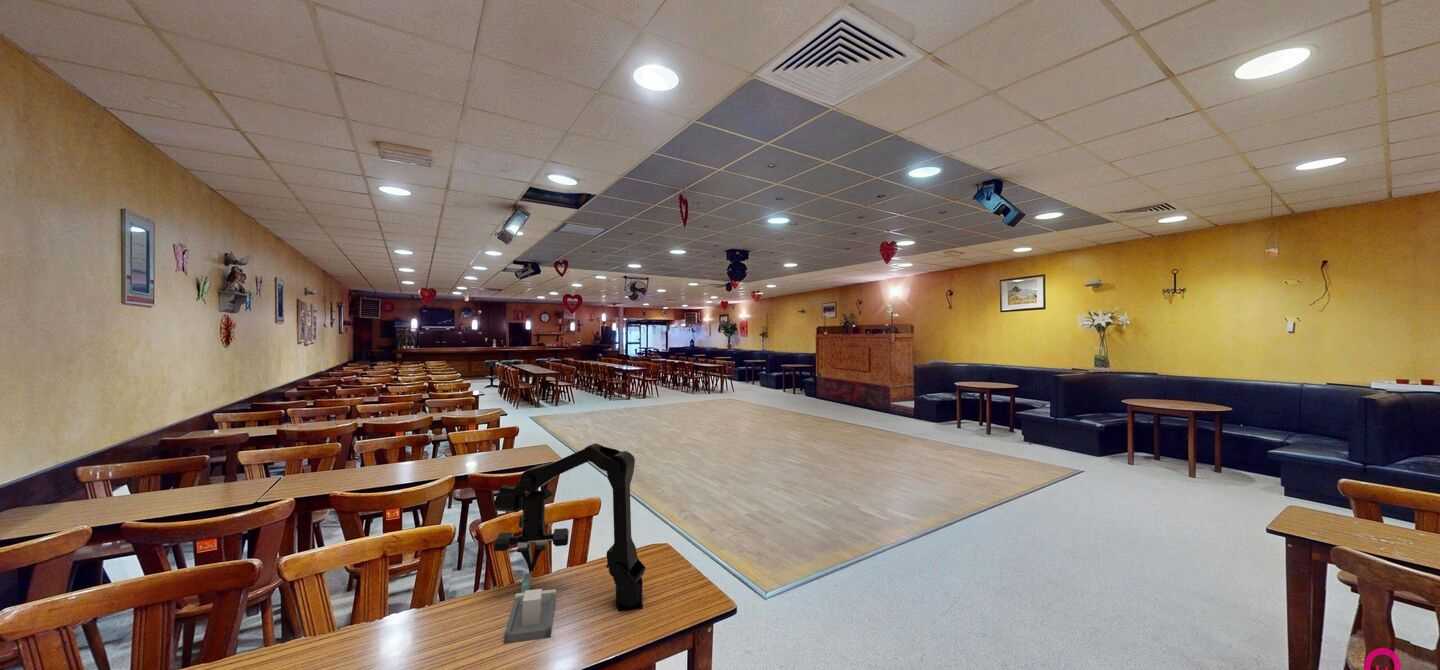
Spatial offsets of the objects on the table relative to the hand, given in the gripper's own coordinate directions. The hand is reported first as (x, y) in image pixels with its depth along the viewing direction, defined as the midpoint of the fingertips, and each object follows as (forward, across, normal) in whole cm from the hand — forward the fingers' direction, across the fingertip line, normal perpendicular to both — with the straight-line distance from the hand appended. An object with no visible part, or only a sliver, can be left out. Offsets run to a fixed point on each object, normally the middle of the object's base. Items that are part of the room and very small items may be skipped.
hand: (531, 570), depth 128 cm
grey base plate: (+6, -2, +14) cm, 15 cm away
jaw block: (+6, -2, +14) cm, 15 cm away
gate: (+6, -2, +2) cm, 6 cm away
